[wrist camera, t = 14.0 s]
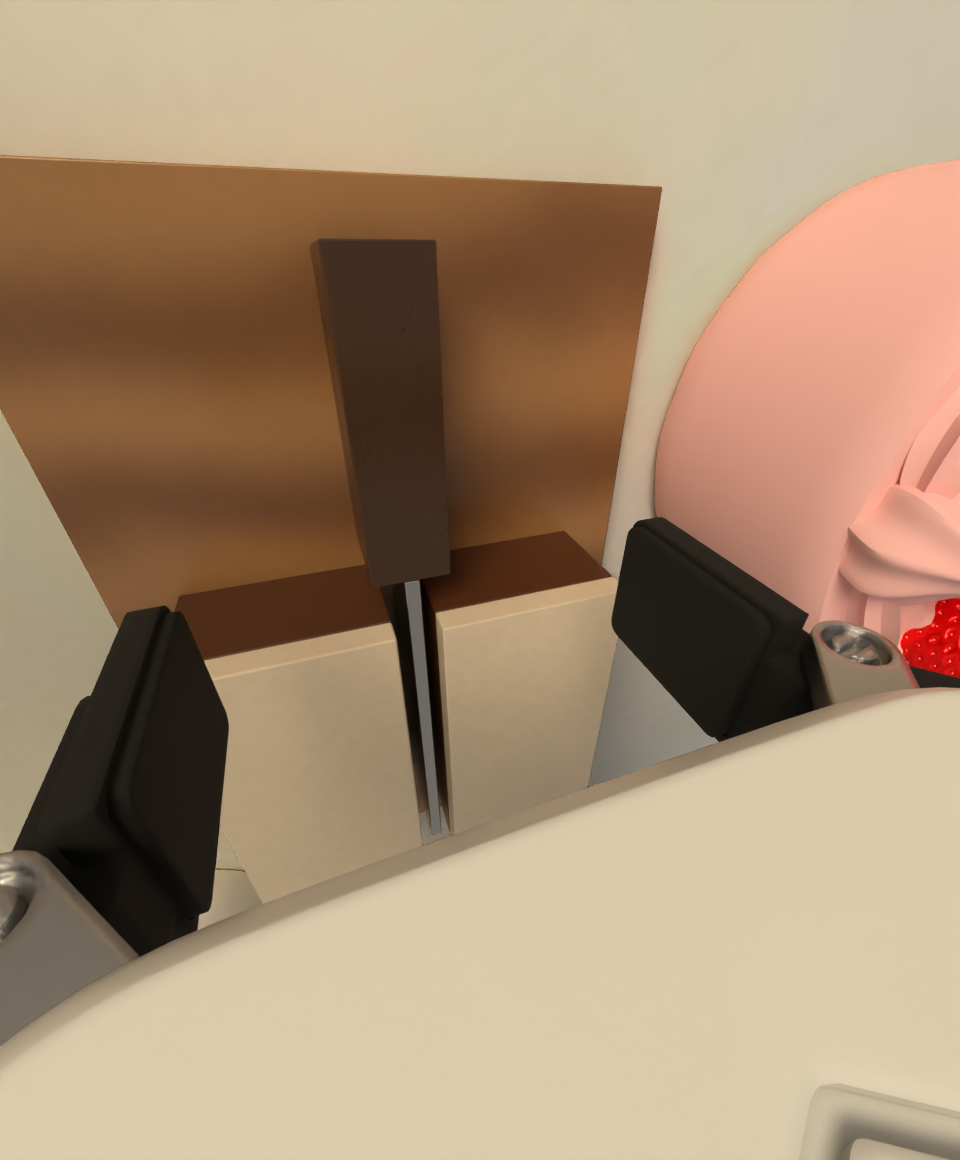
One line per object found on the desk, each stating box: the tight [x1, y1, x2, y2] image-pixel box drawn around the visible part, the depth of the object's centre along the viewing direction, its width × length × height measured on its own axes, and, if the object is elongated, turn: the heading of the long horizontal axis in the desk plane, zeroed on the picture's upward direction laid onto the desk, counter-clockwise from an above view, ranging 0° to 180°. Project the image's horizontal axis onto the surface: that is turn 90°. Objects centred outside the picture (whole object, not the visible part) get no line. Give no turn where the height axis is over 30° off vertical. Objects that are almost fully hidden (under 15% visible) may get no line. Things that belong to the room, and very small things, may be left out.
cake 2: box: [420, 531, 619, 836], centre depth 22 cm, size 14×7×5 cm, turn 0°
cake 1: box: [174, 565, 423, 904], centre depth 20 cm, size 14×7×5 cm, turn 0°
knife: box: [310, 238, 451, 835], centre depth 19 cm, size 24×3×4 cm, turn 0°
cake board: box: [0, 155, 662, 813], centre depth 21 cm, size 30×20×1 cm, turn 0°
